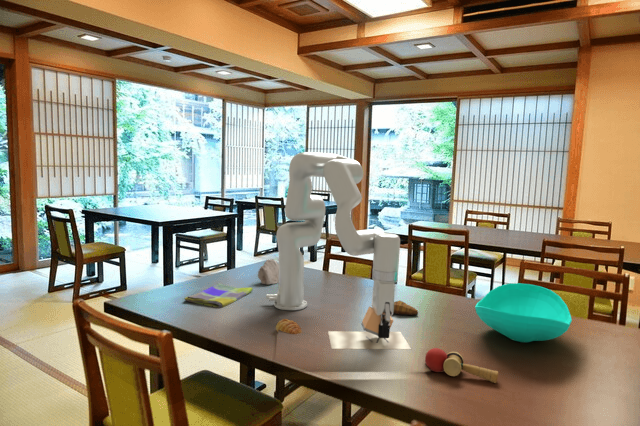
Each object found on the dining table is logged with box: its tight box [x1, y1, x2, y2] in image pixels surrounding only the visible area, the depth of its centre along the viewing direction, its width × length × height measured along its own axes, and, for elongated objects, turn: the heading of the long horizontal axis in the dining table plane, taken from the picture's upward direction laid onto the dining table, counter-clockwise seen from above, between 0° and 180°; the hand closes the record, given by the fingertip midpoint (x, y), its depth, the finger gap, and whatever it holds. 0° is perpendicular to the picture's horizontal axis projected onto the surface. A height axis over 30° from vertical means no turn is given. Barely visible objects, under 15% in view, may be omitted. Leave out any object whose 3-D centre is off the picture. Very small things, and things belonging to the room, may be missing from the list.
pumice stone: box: [257, 258, 279, 285], centre depth 197 cm, size 15×8×10 cm, turn 145°
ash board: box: [327, 330, 412, 350], centre depth 130 cm, size 23×13×2 cm, turn 93°
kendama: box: [424, 347, 499, 384], centre depth 112 cm, size 8×6×18 cm
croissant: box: [393, 300, 419, 316], centre depth 159 cm, size 14×7×5 cm, turn 70°
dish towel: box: [184, 282, 253, 309], centre depth 172 cm, size 18×24×3 cm
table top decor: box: [474, 282, 573, 343], centre depth 138 cm, size 40×28×13 cm
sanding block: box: [360, 306, 394, 339], centre depth 130 cm, size 7×5×6 cm
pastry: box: [275, 318, 303, 335], centre depth 136 cm, size 9×7×4 cm
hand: (381, 333), depth 130 cm, fingers closed on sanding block, 5 cm apart
